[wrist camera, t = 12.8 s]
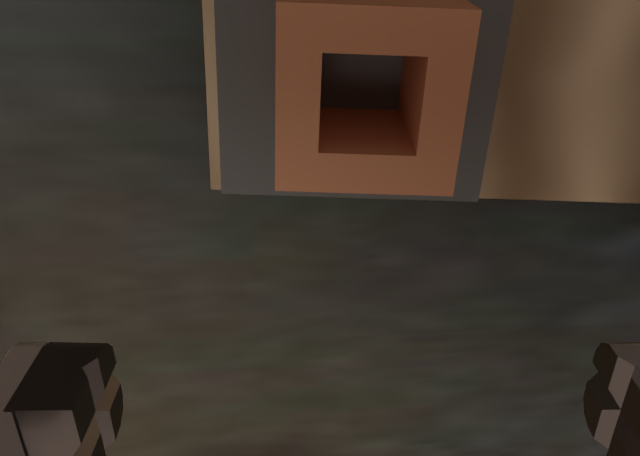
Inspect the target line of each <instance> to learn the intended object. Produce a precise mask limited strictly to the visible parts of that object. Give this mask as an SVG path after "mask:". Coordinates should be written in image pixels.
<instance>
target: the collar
mask: <svg viewBox="0 0 640 456" xmlns="http://www.w3.org/2000/svg"><path fill="white" fill-rule="evenodd" d="M481 14H482V10H481V9H480V8H478V7H477V6H475V5H474V4H472V3H471V2H469V1H468V0H276V71H275V191H294V192H326V193H358V194H390V195H422V196H453V193H454V187H455V180H456V174H457V167H458V161H459V155H460V148H461V142H462V135H463V129H464V123H465V116H466V110H467V103H468V97H469V91H470V84H471V78H472V71H473V65H474V59H475V52H476V46H477V39H478V33H479V27H480V20H481ZM322 53H339V54H366V55H392V56H403V63H402V73H401V82H400V92H399V102H398V110H387V109H359V108H330V107H320V98H321V73H322Z"/></svg>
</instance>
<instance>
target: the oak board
mask: <svg viewBox="0 0 640 456" xmlns="http://www.w3.org/2000/svg"><path fill="white" fill-rule="evenodd" d="M202 12H203V34H204V55H205V76H206V97H207V118H208V139H209V160H210V181H211V189H214V190H221V172H220V147H219V121H218V95H217V69H216V43H215V17H214V0H202ZM479 198H489V199H519V200H550V201H580V202H611V203H640V0H514V6H513V12H512V17H511V23H510V28H509V34H508V39H507V45H506V50H505V56H504V62H503V67H502V73H501V78H500V84H499V89H498V95H497V100H496V106H495V111H494V117H493V123H492V128H491V134H490V139H489V145H488V150H487V156H486V161H485V167H484V173H483V178H482V184H481V189H480V195H479Z"/></svg>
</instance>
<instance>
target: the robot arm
mask: <svg viewBox="0 0 640 456" xmlns="http://www.w3.org/2000/svg"><path fill="white" fill-rule="evenodd" d="M592 362H593V364H594V365H595V367H596V369H597V370H598V373H597V374H596V375H594V376H593V377H592V378H591V379H590V380H589V381H588V382H587V383H586V388H585V392H584V397H583V401H584V415H585V418H586V422H587V425H588V428H589V430H590V432H591V434H592V436H593V438H594V439H595V440H597V441H598V442H599V443H601V444H602V445H603V446H605V447H606V448H608V452H607V456H640V342H613V343H600V345H599V346H598V347H597V349H596V351H595V354H594V358H593V361H592ZM115 365H116V359H115V355H114V351H113V347H112V346H111V345H109V344H108V343H70V342H49V343H46V342H19V343H17V344H15V345H13V346H12V347H11V348H10V349H9V351H8V352H7V354H6V355H5V357H4V358H3V360H2V361H1V362H0V456H106V454H105V448H106V447H107V446H108V445H110V444H111V443H112V442H113V441H115V440H116V437H117V434H118V431H119V428H120V425H121V418H122V412H123V394H122V389H121V383H120V382H119V381H118V380H116V379H115V378H114V377H113V376H112V375H111V374H112V372H113V369H114V367H115Z"/></svg>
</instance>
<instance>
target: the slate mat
mask: <svg viewBox="0 0 640 456" xmlns="http://www.w3.org/2000/svg"><path fill="white" fill-rule="evenodd" d="M468 1H469V2H471V3H472V4H474V5H475V6H477V7H478V8H480V9H481V10H482V14H481V20H480V27H479V33H478V39H477V46H476V52H475V59H474V65H473V71H472V78H471V84H470V91H469V97H468V103H467V110H466V116H465V123H464V129H463V135H462V142H461V148H460V155H459V161H458V167H457V174H456V180H455V187H454V193H453V196H422V195H390V194H358V193H326V192H294V191H275V71H276V0H214V17H215V43H216V69H217V95H218V121H219V147H220V172H221V194H246V195H276V196H307V197H338V198H368V199H399V200H430V201H461V202H478V200H479V195H480V189H481V184H482V178H483V173H484V167H485V161H486V156H487V150H488V145H489V139H490V134H491V128H492V123H493V117H494V111H495V106H496V100H497V95H498V89H499V84H500V78H501V73H502V67H503V62H504V56H505V50H506V45H507V39H508V34H509V28H510V23H511V17H512V12H513V6H514V0H468ZM402 63H403V56H392V55H366V54H339V53H322V73H321V98H320V107H330V108H359V109H387V110H398V102H399V92H400V82H401V73H402Z"/></svg>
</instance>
